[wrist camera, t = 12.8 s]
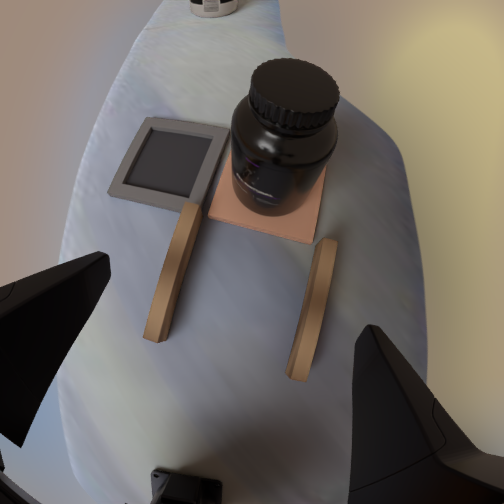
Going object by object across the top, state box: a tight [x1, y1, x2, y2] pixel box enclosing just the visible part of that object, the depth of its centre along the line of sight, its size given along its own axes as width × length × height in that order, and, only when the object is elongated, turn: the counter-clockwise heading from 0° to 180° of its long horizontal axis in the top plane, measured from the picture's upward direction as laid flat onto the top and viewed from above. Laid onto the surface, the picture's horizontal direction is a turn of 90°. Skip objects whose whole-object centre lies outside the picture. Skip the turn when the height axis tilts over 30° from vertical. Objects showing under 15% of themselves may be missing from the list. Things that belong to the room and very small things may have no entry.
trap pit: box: [107, 117, 230, 213], centre depth 24 cm, size 9×9×1 cm
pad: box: [208, 151, 326, 245], centre depth 24 cm, size 9×9×1 cm
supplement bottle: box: [231, 58, 340, 217], centre depth 18 cm, size 7×7×12 cm
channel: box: [143, 201, 338, 382], centre depth 21 cm, size 11×12×2 cm
